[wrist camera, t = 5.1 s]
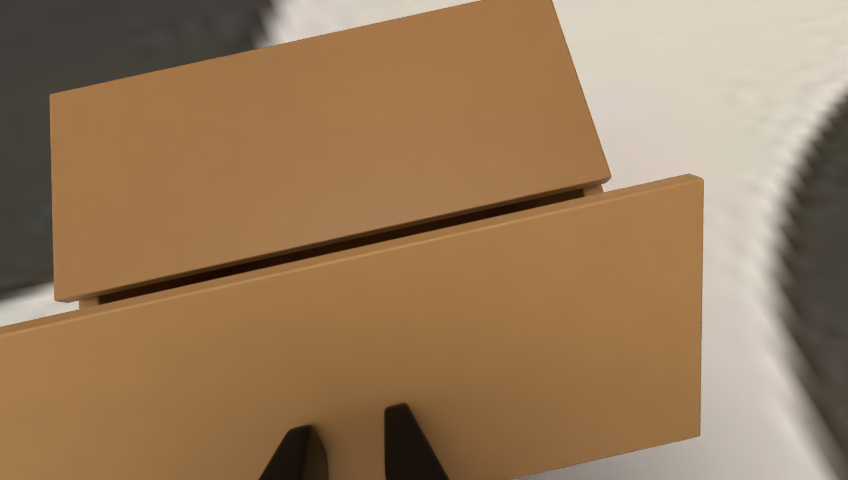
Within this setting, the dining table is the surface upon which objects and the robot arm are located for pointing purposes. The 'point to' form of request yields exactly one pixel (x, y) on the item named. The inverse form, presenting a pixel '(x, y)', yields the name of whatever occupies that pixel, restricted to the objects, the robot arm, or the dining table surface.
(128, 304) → the flap
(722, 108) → the dining table surface
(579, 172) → the carton
